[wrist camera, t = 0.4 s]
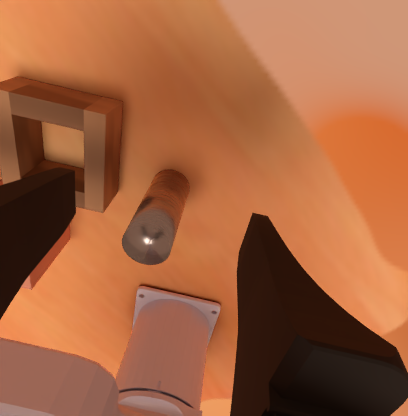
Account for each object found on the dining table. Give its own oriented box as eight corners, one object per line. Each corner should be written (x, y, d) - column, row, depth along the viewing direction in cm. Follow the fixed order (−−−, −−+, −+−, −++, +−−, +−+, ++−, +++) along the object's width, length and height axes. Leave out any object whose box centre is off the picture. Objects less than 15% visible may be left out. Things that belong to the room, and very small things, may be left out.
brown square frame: (117, 191, 25) (103, 213, 22) (29, 171, 24) (4, 190, 22) (122, 101, 21) (105, 114, 18) (17, 76, 21) (-15, 86, 18)
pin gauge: (186, 206, 25) (167, 269, 19) (150, 198, 25) (120, 258, 19) (192, 174, 23) (173, 232, 17) (154, 166, 23) (123, 220, 17)
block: (70, 238, 28) (30, 290, 23) (14, 225, 28) (-38, 275, 23) (68, 190, 25) (22, 237, 20) (6, 175, 25) (-56, 219, 20)
